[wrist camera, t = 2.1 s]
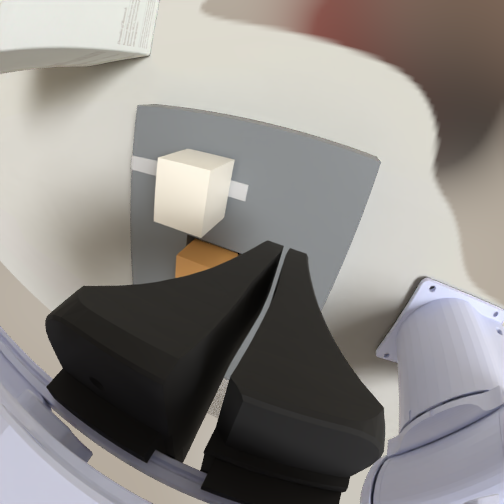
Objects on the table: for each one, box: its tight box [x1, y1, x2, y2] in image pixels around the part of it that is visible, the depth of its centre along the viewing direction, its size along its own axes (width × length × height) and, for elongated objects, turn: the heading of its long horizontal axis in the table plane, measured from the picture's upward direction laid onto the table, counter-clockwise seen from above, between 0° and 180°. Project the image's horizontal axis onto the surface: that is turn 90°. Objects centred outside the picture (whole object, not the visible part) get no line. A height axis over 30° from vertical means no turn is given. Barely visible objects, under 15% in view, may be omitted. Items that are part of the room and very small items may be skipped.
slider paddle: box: [154, 149, 235, 238], centre depth 15 cm, size 3×4×3 cm
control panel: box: [131, 104, 381, 380], centre depth 20 cm, size 15×22×3 cm
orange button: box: [175, 238, 238, 278], centre depth 19 cm, size 3×3×2 cm
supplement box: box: [0, 0, 160, 74], centre depth 9 cm, size 7×7×13 cm
